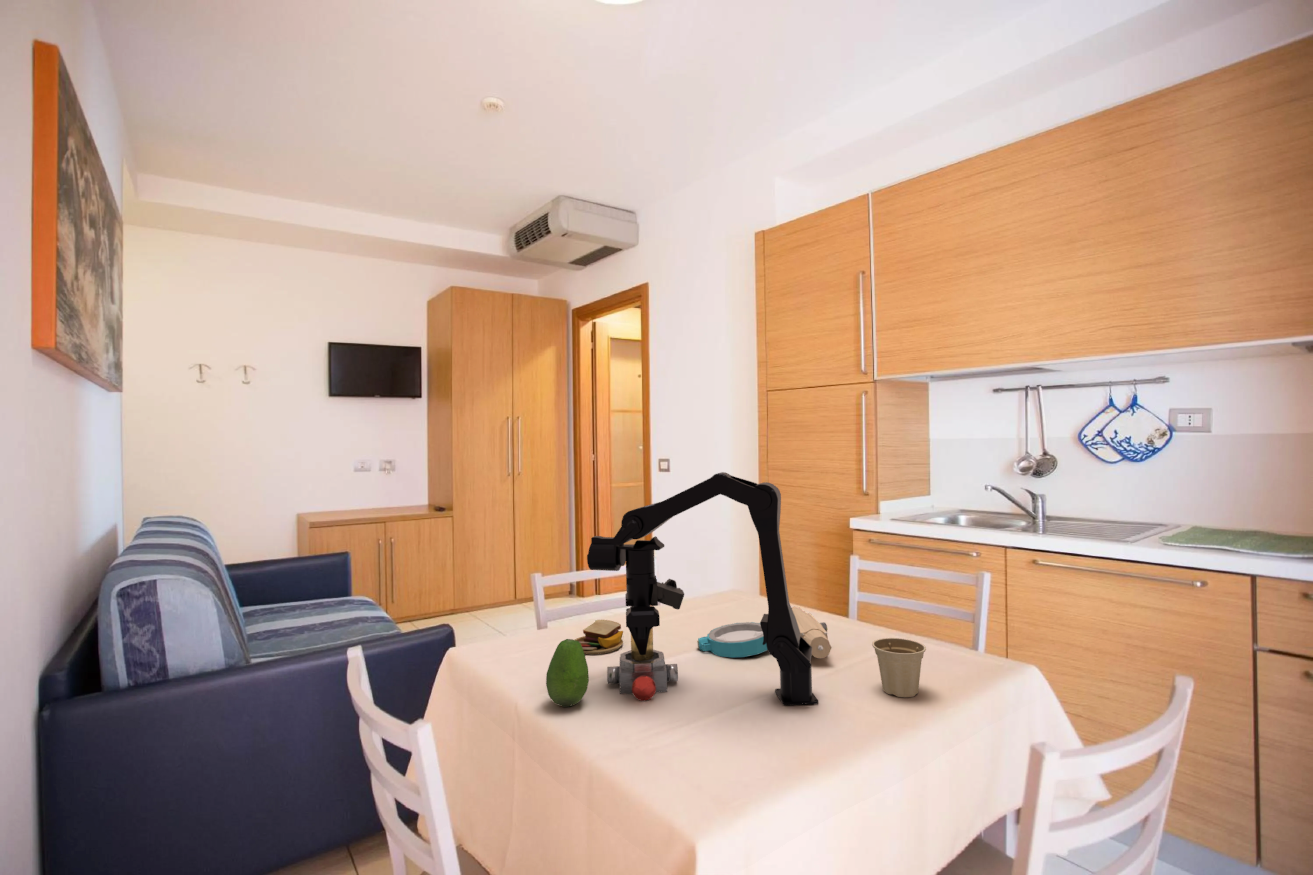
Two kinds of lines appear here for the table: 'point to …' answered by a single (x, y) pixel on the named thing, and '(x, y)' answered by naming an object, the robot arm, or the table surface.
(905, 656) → the flower pot
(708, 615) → the table surface
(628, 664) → the valve
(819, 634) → the butterfly valve
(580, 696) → the avocado
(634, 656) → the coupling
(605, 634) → the toy sandwich meal
